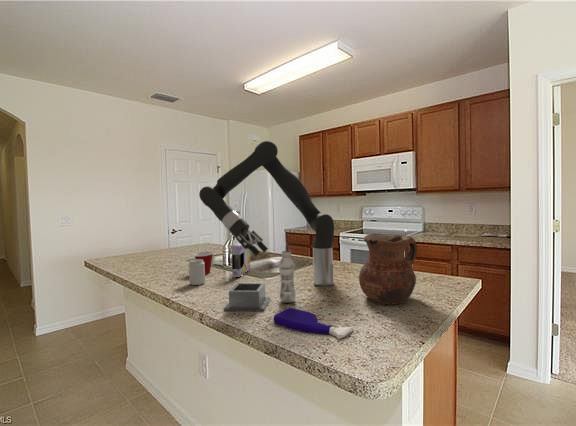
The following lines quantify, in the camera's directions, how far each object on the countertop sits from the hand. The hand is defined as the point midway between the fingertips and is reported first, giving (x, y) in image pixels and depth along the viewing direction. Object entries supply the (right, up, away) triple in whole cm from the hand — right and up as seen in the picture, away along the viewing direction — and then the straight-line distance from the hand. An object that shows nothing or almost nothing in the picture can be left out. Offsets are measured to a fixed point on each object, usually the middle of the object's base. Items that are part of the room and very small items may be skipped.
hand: (262, 252), depth 121 cm
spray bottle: (+18, -21, -26) cm, 38 cm away
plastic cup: (-37, -19, +50) cm, 65 cm away
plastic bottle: (+10, -19, -2) cm, 22 cm away
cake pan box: (-15, -18, +46) cm, 52 cm away
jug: (+50, -18, -2) cm, 53 cm away
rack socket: (-5, -20, -4) cm, 21 cm away
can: (-35, -19, +28) cm, 49 cm away
